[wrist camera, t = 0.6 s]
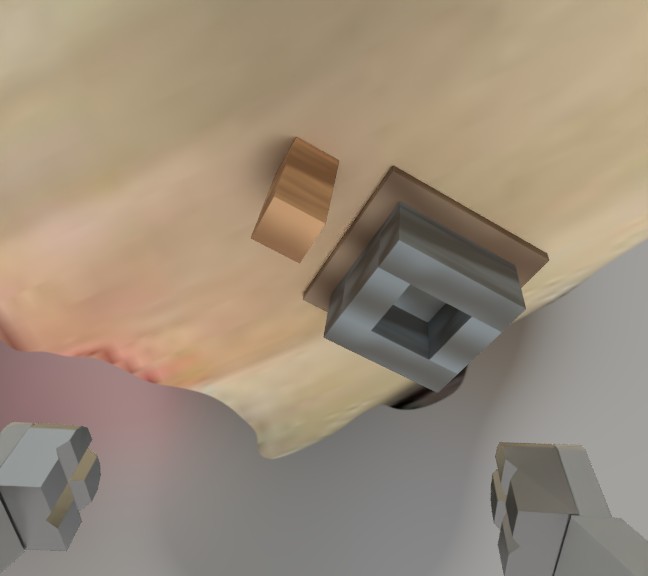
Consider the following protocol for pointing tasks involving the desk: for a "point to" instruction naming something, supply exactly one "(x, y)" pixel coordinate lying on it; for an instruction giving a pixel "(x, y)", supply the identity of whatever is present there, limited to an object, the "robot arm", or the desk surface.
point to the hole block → (422, 282)
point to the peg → (297, 201)
